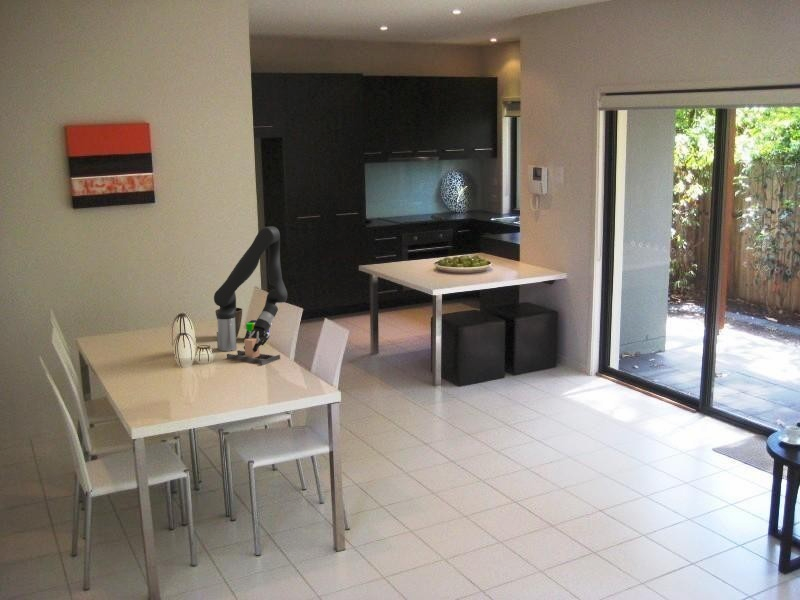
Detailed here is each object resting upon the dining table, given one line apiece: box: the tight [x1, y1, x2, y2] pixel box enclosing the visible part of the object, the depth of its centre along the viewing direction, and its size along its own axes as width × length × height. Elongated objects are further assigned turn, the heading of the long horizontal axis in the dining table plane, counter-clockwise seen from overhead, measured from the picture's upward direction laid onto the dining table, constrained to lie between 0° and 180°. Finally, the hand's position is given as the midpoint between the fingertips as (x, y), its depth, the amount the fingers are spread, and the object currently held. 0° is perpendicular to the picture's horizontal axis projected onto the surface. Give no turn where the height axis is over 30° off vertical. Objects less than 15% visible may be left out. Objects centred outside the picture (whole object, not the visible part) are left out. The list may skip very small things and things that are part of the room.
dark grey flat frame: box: [224, 350, 281, 366], centre depth 421 cm, size 25×14×4 cm, turn 60°
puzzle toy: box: [245, 319, 270, 341], centre depth 468 cm, size 10×10×10 cm
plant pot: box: [214, 307, 243, 338], centre depth 472 cm, size 15×15×16 cm
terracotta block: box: [243, 338, 260, 358], centre depth 420 cm, size 5×5×9 cm
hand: (249, 350), depth 419 cm, fingers closed on terracotta block, 5 cm apart
